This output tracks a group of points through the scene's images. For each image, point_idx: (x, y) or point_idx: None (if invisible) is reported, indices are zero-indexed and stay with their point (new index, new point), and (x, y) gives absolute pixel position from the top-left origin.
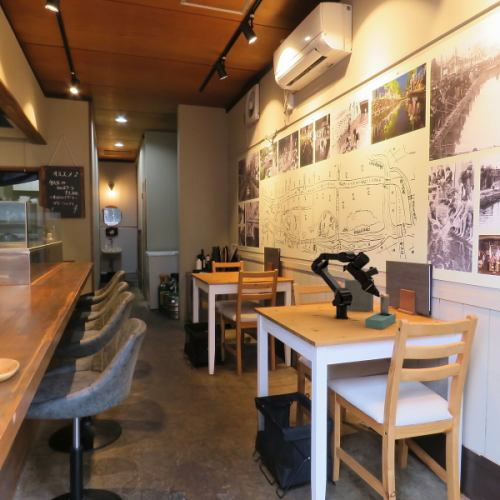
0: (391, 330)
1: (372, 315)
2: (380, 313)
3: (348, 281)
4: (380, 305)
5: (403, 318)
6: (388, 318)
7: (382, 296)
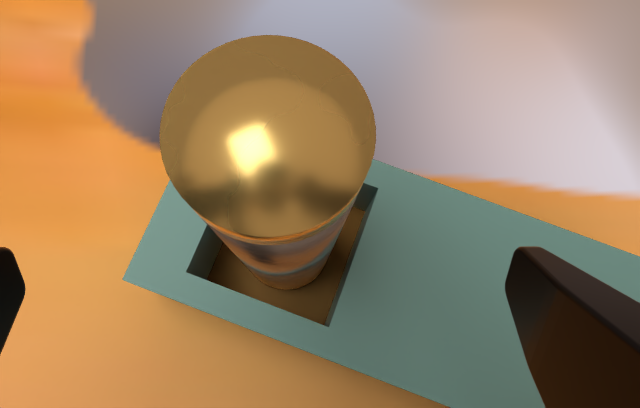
0: (605, 195)
1: (396, 385)
2: (299, 278)
3: None
4: (293, 267)
5: (45, 55)
6: (460, 194)
7: (355, 197)
